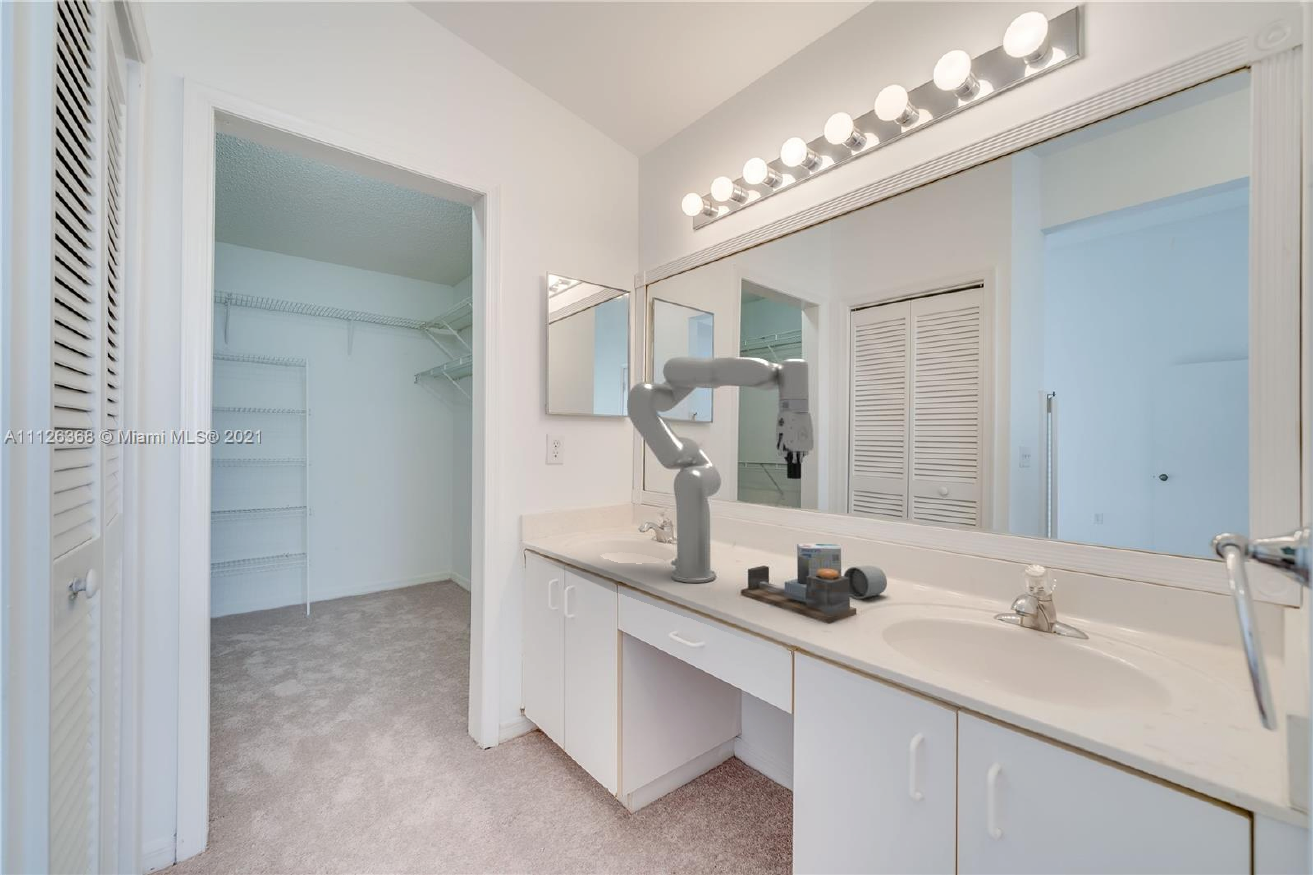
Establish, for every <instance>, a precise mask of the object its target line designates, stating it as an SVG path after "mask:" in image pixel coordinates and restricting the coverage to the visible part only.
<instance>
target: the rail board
mask: <svg viewBox="0 0 1313 875" xmlns="http://www.w3.org/2000/svg"><path fill="white" fill-rule="evenodd" d="M806 590H807V602H803V601H800V600H797V599H793V598H790V597H787V593H786V592H785V586H780V585H777V584H774V583H770V566H767V565H760V566H755V567H751V568H747V588H742V589H740V595H742V596H744V597H748V598H751V599H754V600H757V601H760V602H763V603H767V604H769V605H772V604H773V605H772V606H774V607H775V606H776V607H778V608H782V609H784V610H787V609H788V610H787V611H790V610H791V611H790V612H793V613H797V614H800V615H803V616H805V617H808V618H812V619H814V618H815V620H817V619H818V620H817V621H821V622H824V623H827V624H831V623H834V622H838V621H840V620H844V619H846V618H849V617H851V616H855V615H857V608H856V607H853V606H850V605H851V596H850V578H848V577H844V575H841V576H840V575H838V577H837V578H834V580H826V579H822V577H820V576H818V574H814V575H810V576H806Z"/></svg>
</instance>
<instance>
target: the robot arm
mask: <svg viewBox="0 0 1313 875" xmlns="http://www.w3.org/2000/svg"><path fill="white" fill-rule="evenodd" d="M662 374H663V378H664V380H665V381H664V382H663V383H662V384H661V383H656V382H652V381H643V382H642V381H641V382H638V383H637V384H635V385H634V386H632V388H631V389H630V391H629V393H628V397H627V401H626V408H627V410H626V411H627V414H628V417H629V419H630V422H631V423H632V425H633V426H634V428H635V429H636V430H637V432H638V433H639V434H640V436H641V437H642V438H643V440H644V441H645V443H646V444H647V446H648V447H649V449H650V450H651V452H652V453H653V455H654V456H655V458H656V460H658V462H659V463H660V465H661V466H662V467H663V468H665V469H668V470H680V471H679V472H677V474H676V475H675V478H674V480H673V492H674V498H675V499H674V500H675V504H676V505H675V506H676V558H674V559H673V560H671V562H670V564H671V565H672V566H675V567H674V568H675V569H674V570H673V571H672V572H671V578H672V579H673V580H675V581H678V582H680V583H681V582H683V583H691V584H696V583H697V584H698V583H701V584H702V583H708V582H713V581H714V580H716V578H717V573H716V572H715V571H713V570H712V569H711V568H712V567H711V511H710V505H709V501H708V499H709V498H708V497H711V496H713V495H716V493H718V492H719V490H720V488H721V484H722V478H721V476H720V473H719V471H718V469H717V468H716V467H715V465H714V463H712V461H711V460H710V458H709V457H708V456H707V455H706V453H705V452H704V450H703V449H702V448H701V446H700V445H699V444H698V443H697V442H696V441H694V440H693V439H691V438H689V437H685V436H682V437H681V436H678V435H677V434H676V433H675V432H674V430H673V428H671V426H670V425H669V423H668V422H667V420H665V418H663V416H661V415H660V414H659V413H666V412H667V411H668V412H669V411H670V410H672V409H674V408H675V407H676V406H677V405H679V404H680V403H681V402H682V401H683V400H684V399H686V398H687V397H688V396H689V395H690V394H692V392H693V391H694V390H696V388H697V389H698V388H699V389H700V388H701V389H718V388H720V387H724V386H725V387H727V386H728V387H729V386H730V387H746V388H747V387H748V388H754V389H758V390H762V391H768V392H769V391H773V390H778V403H777V404H778V405H777V406H778V413H777V417H776V418H777V419H776V426H775V427H776V428H775V447H776V449H777V451H778V456H780V457H782V458H783V459H784V462H785V463H786V477H787V479H788V480H789V479H793V480H799V479H801V478H802V463H803V461H804V458H805V457H806V456H808V455H809V453H810V451H812V450H814V429H813V423H812V422H813V421H812V416H811V413H810V412H809V411H810V409H809V408H810V405H809V404H810V403H809V400H810V399H809V363H808V362H807V360H805V359H802V358H789V359H784V360H781V361H780V362H778V363H775V362H771V361H768V360H766V359H763V358H759V357H739V356H737V357H735V356H734V357H731V356H730V357H693V356H690V357H689V356H688V357H687V356H677V357H673V358H670V359H668V360H667V361H666V362H665V364H664V365H663V369H662Z"/></svg>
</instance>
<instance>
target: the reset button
mask: <svg viewBox="0 0 1313 875" xmlns="http://www.w3.org/2000/svg"><path fill="white" fill-rule="evenodd" d="M818 576H820V577H822V579H826V580H834V578H837V577H838V571H837V570H833V569H819V570H818Z"/></svg>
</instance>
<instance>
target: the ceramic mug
mask: <svg viewBox="0 0 1313 875" xmlns="http://www.w3.org/2000/svg"><path fill="white" fill-rule="evenodd" d="M843 576H844V577H848V578H850V597H852V598H853V599H856V600H862V599H867V598H870V597H875V596H879V595H881V594H882V593H884V592H885V590H886V588H887V585H888V580H887V576H886V574H885V573H884V572H883V570H882V569H881V568H880V567H877V566H874V565H863V566H862V565H860V566H851V567H849V568H847V569H846V570H845V572H844V574H843Z"/></svg>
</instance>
